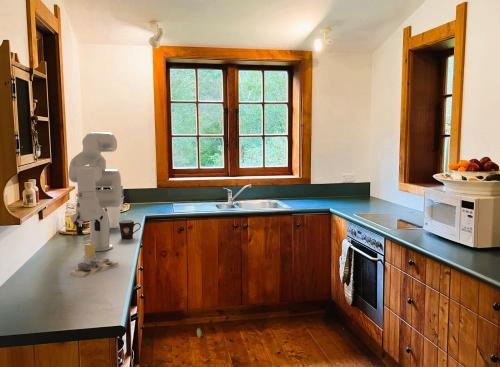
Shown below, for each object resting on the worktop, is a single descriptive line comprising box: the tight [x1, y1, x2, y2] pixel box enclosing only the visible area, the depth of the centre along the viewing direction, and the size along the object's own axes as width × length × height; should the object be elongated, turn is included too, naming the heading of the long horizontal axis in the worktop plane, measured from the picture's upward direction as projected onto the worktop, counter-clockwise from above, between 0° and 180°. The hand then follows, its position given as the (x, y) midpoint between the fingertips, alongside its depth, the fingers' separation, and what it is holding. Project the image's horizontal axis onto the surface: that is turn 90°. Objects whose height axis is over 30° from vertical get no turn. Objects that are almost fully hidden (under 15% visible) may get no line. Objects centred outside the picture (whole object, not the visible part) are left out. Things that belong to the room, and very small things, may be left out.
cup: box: [105, 198, 123, 229], centre depth 293 cm, size 11×11×18 cm
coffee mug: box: [118, 219, 142, 240], centre depth 264 cm, size 12×9×10 cm
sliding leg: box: [84, 243, 100, 267], centre depth 204 cm, size 3×7×10 cm, turn 58°
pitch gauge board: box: [69, 258, 119, 278], centre depth 205 cm, size 20×8×4 cm, turn 149°
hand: (88, 232), depth 203 cm, fingers open, 9 cm apart
